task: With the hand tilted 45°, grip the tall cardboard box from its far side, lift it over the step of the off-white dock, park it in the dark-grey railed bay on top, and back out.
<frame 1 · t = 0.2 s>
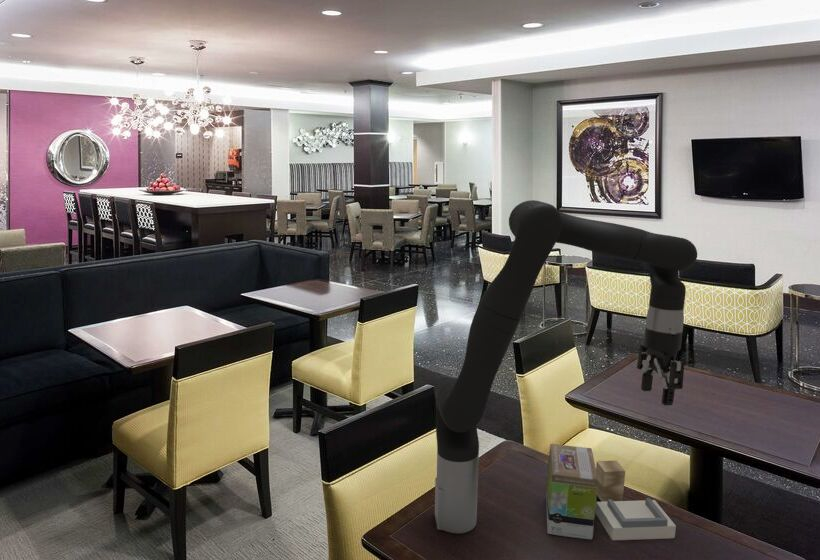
hand: (656, 397, 133), 29 cm above the table, tool pointing down, fingers open, 8 cm apart
tea box: (568, 519, 137), on the table
tall cardboard box: (607, 500, 144), on the table
dock: (633, 525, 135), on the table
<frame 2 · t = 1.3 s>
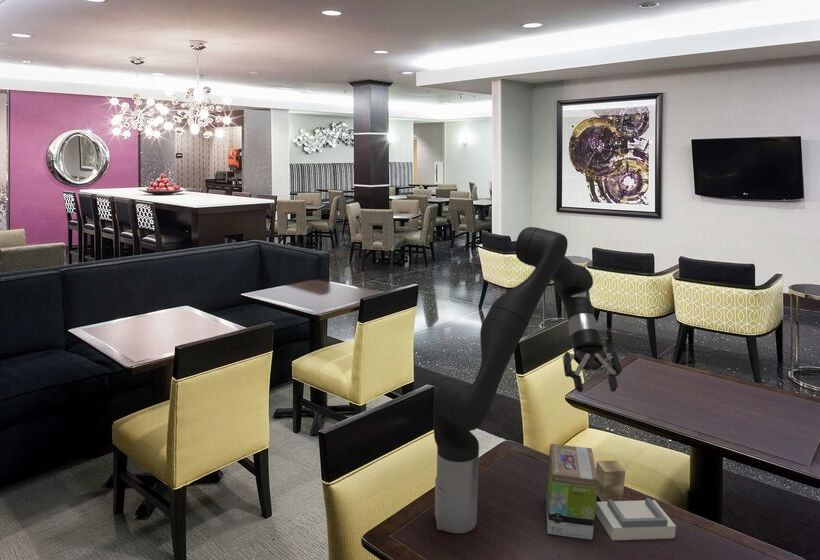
hand: (597, 390, 151), 24 cm above the table, tool tilted 45°, fingers open, 8 cm apart
nothing on the table moved.
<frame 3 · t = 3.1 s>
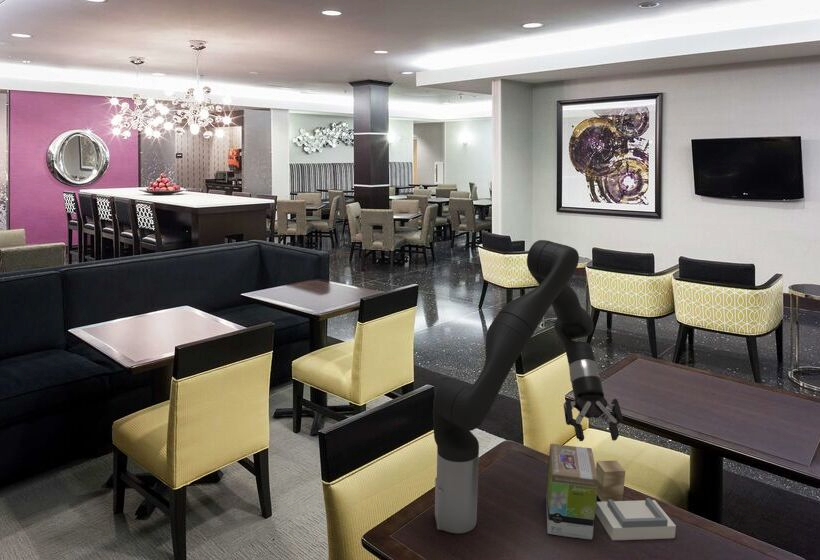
hand: (598, 440, 150), 12 cm above the table, tool tilted 45°, fingers open, 8 cm apart
nothing on the table moved.
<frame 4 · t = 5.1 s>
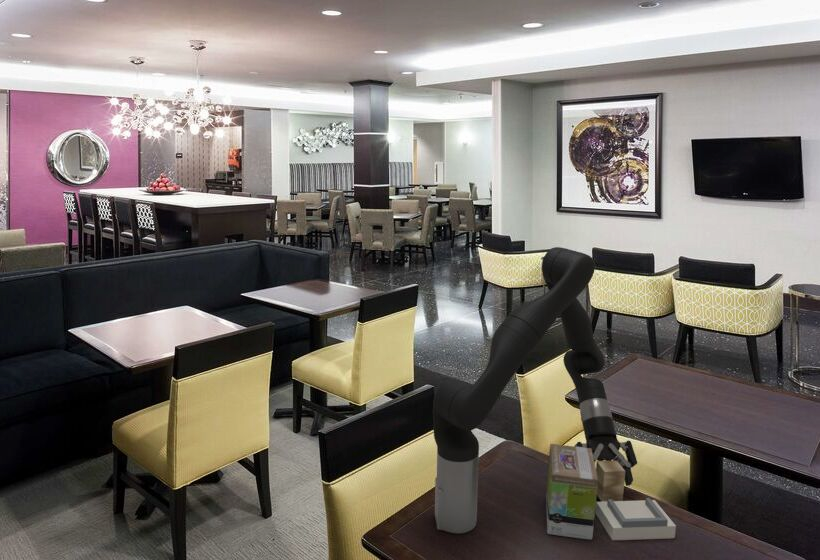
hand: (611, 485, 142), 5 cm above the table, tool tilted 45°, fingers open, 8 cm apart
nothing on the table moved.
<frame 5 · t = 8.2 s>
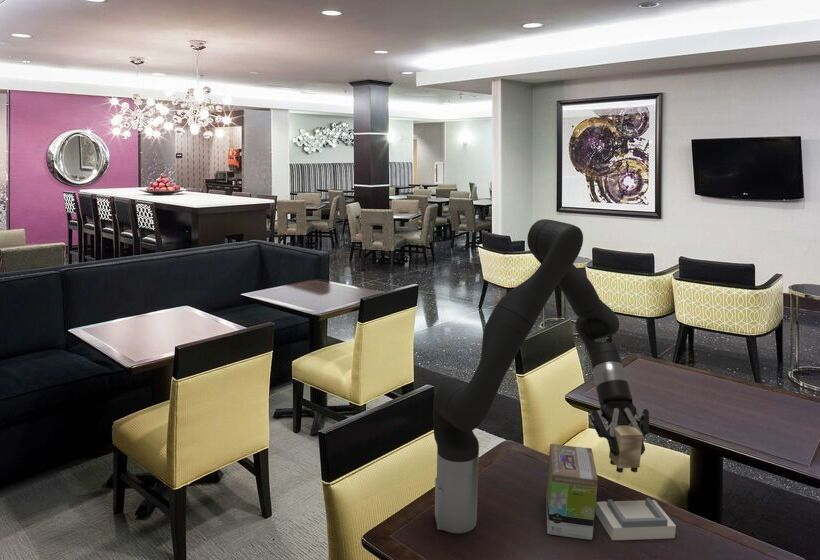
hand: (628, 454, 135), 16 cm above the table, tool tilted 45°, fingers closed on tall cardboard box, 5 cm apart
tall cardboard box: (623, 467, 137), point 12 cm above the table, touching gripper
everything else where it was.
when the fingers open (9 cm above the table, at t = 10.5 s): tall cardboard box drops 1 cm, resting on dock.
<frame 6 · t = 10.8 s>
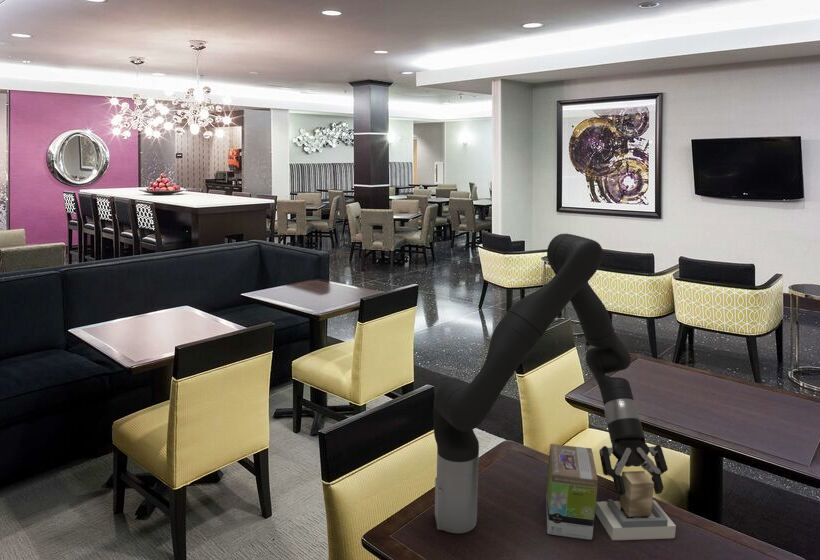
hand: (640, 493, 131), 9 cm above the table, tool tilted 45°, fingers open, 8 cm apart
tall cardboard box: (634, 514, 134), point 3 cm above the table, touching dock
everything else where it was.
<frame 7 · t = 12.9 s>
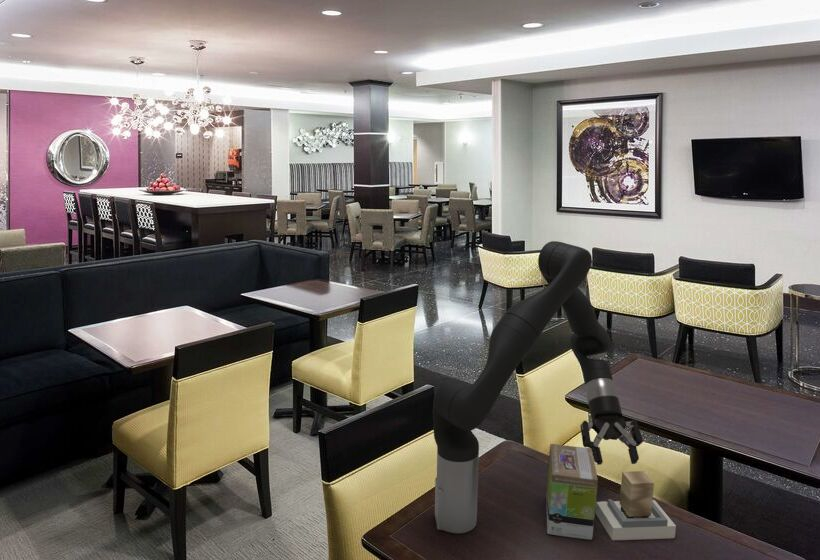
hand: (617, 463, 144), 9 cm above the table, tool tilted 45°, fingers open, 8 cm apart
nothing on the table moved.
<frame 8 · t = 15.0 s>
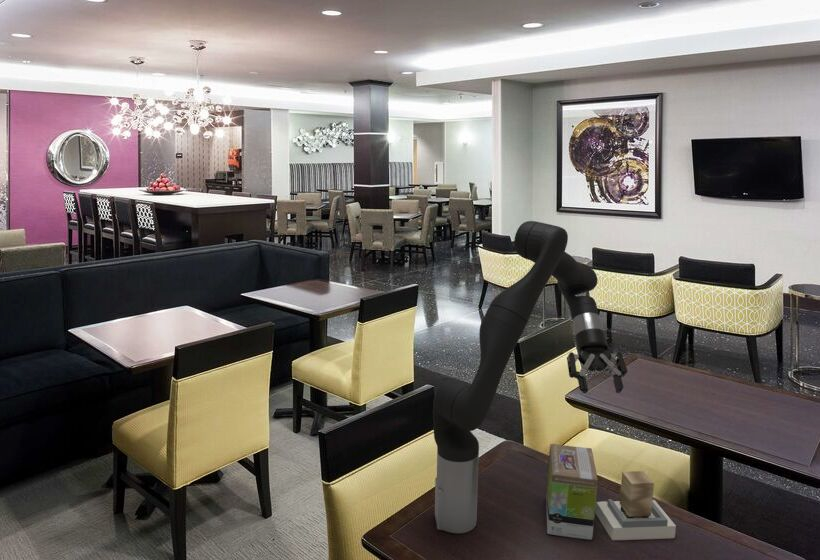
hand: (602, 392, 147), 25 cm above the table, tool tilted 45°, fingers open, 8 cm apart
nothing on the table moved.
at the end: tall cardboard box 0.3 cm from the target spot, point 3.0 cm above the table; tall cardboard box tilted 0°; the gripper is holding nothing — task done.
